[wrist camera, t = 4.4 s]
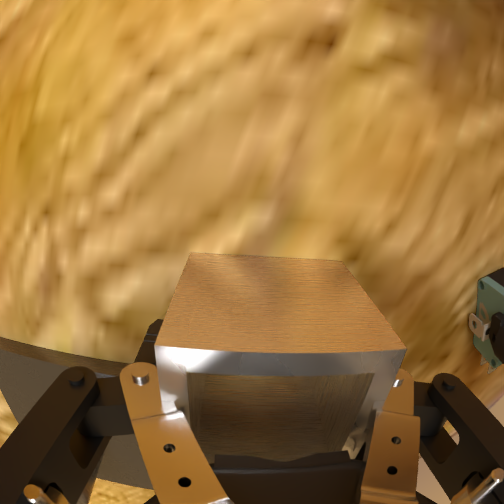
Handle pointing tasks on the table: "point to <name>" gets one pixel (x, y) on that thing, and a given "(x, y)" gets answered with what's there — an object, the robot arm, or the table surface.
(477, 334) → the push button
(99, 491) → the table surface
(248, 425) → the grey hollow block
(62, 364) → the gray square plate
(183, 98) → the table surface
